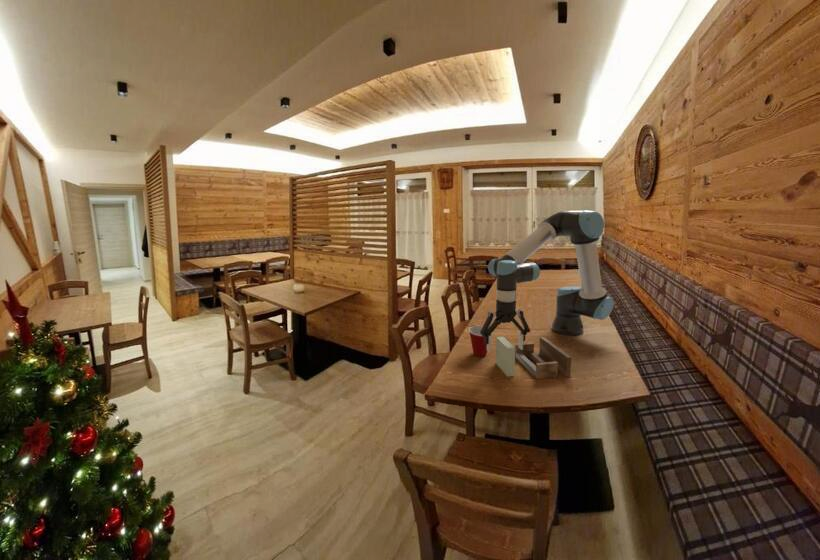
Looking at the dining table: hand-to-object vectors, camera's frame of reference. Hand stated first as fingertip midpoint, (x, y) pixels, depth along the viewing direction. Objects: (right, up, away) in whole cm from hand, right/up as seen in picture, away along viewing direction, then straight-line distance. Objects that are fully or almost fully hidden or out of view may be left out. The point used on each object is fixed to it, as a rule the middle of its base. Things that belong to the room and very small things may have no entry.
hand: (504, 350), depth 141 cm
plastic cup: (-6, -6, +17) cm, 19 cm away
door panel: (+1, -8, +2) cm, 9 cm away
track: (+16, -7, +4) cm, 18 cm away
